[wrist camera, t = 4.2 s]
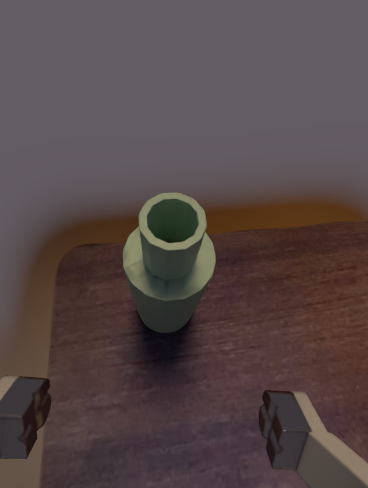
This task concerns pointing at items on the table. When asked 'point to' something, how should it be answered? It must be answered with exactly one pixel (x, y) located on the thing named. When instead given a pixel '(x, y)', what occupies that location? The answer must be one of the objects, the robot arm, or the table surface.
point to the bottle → (169, 261)
